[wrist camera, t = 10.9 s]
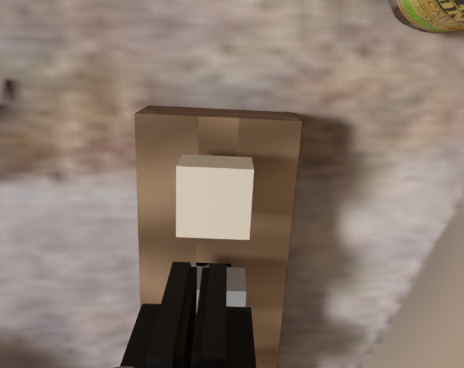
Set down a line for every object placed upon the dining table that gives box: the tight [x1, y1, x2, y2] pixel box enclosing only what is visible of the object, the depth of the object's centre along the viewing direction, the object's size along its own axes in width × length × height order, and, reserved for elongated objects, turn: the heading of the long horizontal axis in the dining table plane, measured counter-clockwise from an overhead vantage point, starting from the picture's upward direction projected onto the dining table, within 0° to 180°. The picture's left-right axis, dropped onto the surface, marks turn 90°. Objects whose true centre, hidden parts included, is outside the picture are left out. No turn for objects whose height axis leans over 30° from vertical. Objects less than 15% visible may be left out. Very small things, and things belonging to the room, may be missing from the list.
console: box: [135, 106, 302, 368], centre depth 29 cm, size 29×10×4 cm, turn 177°
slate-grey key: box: [191, 263, 246, 314], centre depth 25 cm, size 4×4×7 cm
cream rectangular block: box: [176, 154, 254, 240], centre depth 23 cm, size 4×4×7 cm
